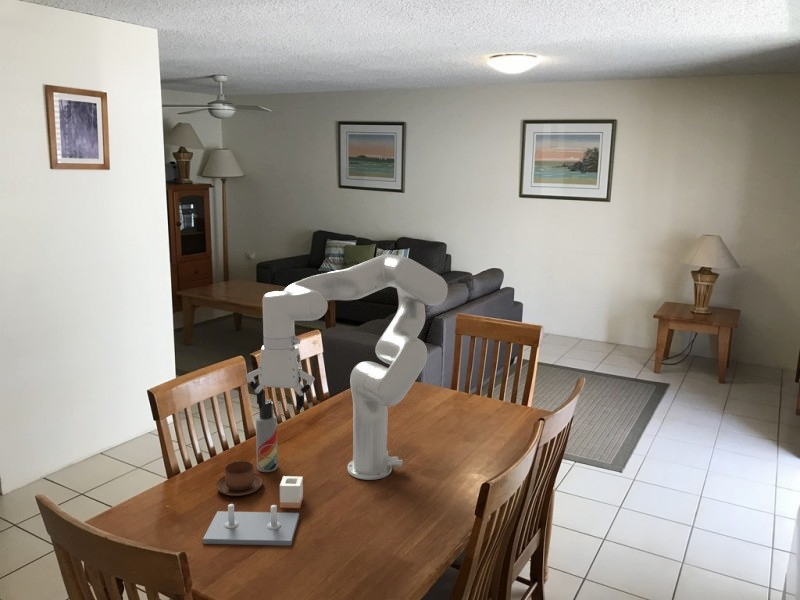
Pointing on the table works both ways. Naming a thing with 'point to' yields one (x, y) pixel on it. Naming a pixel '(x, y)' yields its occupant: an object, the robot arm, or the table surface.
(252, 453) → the table surface
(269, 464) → the lotion bottle
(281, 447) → the table surface
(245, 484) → the cup and saucer
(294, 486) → the sleeve
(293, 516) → the pin board
